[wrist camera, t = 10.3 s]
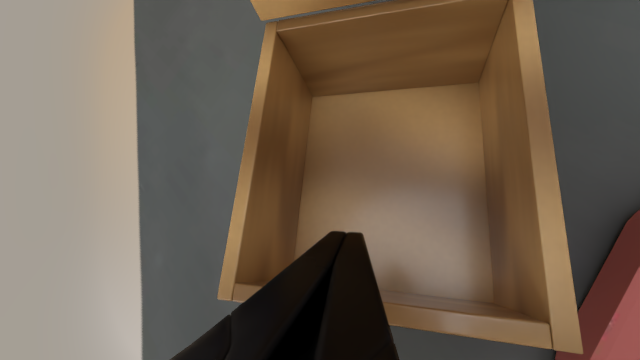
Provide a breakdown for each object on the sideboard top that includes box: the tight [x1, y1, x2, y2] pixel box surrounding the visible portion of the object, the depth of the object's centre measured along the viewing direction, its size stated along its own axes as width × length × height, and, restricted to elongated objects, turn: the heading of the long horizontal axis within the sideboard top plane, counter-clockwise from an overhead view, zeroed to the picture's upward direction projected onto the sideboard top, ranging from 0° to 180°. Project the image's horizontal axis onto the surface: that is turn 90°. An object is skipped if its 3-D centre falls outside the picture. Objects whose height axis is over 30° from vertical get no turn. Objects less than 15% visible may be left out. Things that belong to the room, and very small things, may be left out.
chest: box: [217, 0, 583, 354], centre depth 17 cm, size 16×14×8 cm
